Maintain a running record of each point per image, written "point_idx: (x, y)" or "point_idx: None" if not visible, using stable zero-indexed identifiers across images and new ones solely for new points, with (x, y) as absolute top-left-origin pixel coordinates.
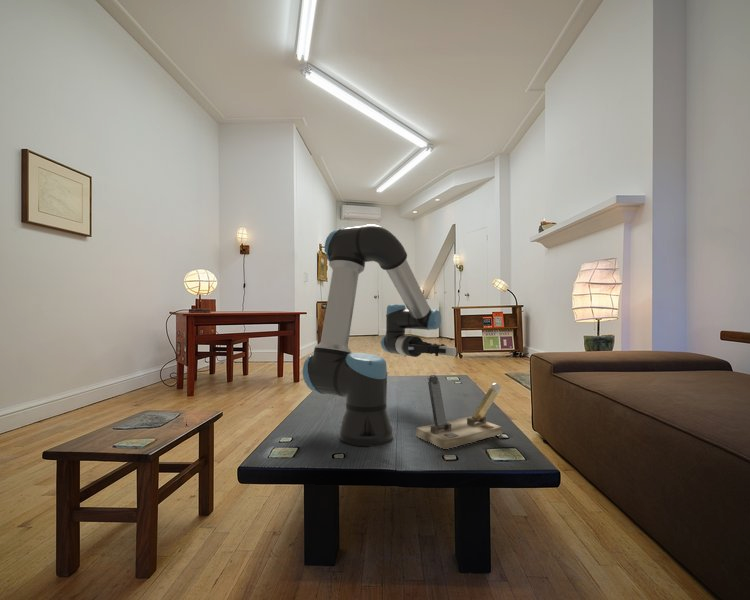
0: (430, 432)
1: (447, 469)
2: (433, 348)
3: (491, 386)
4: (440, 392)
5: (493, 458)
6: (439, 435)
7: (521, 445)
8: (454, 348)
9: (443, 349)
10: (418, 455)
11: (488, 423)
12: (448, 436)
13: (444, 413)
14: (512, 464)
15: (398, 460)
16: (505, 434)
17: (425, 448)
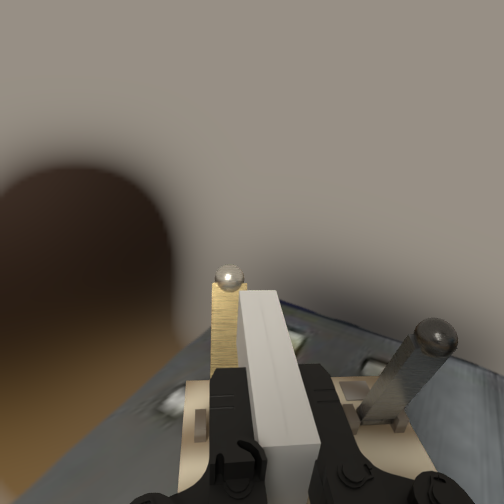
0: (405, 430)
1: (398, 343)
2: (404, 481)
3: (243, 278)
4: (394, 358)
5: (299, 338)
6: None
7: (200, 350)
8: (259, 294)
9: (319, 367)
10: (444, 400)
11: (193, 414)
12: (367, 384)
13: (368, 393)
14: (285, 317)
15: (491, 399)
16: (165, 403)
17: (420, 423)
